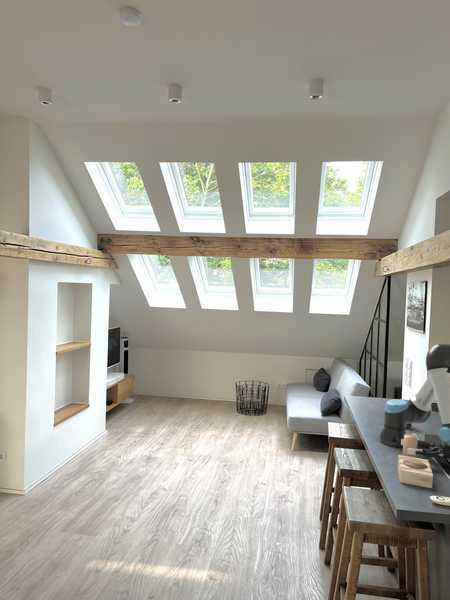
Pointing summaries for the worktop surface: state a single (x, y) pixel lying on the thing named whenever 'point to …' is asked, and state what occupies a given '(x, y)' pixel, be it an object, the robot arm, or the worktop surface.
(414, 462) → the plinth
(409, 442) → the slanted peach cylinder
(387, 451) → the worktop surface
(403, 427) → the robot arm
